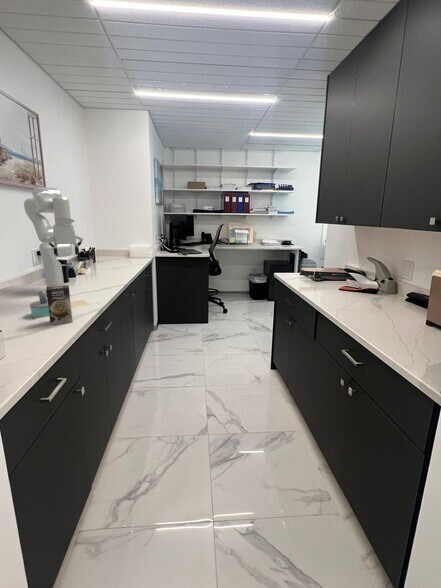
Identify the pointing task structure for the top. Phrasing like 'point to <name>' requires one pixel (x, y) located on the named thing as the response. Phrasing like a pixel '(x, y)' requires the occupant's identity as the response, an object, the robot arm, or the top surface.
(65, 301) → the coffee box
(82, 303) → the mat
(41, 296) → the lid
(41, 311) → the bowl
